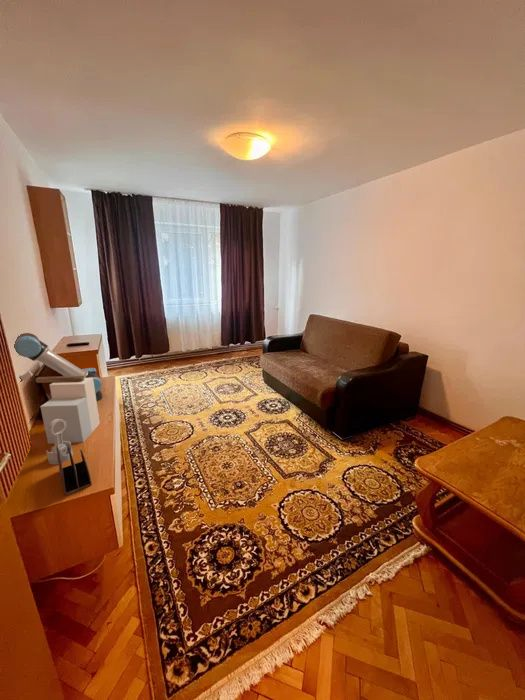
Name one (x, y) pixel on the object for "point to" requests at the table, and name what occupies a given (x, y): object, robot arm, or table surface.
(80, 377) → the walnut axle bar
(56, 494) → the table surface
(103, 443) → the table surface
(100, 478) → the table surface
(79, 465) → the letter holder
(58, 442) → the engine component
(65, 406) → the stepped parts shelf
